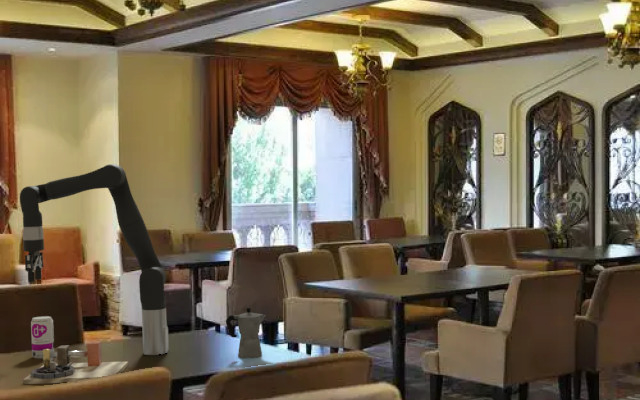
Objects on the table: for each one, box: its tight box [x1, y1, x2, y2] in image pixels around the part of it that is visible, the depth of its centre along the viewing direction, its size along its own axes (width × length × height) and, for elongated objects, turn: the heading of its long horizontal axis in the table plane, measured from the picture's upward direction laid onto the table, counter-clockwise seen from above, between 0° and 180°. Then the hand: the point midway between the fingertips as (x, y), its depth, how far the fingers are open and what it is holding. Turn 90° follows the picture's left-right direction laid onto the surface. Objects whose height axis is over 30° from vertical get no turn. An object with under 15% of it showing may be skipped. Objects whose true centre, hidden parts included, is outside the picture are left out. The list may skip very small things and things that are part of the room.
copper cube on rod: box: [50, 340, 103, 366], centre depth 316 cm, size 18×4×8 cm, turn 90°
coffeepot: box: [225, 307, 267, 359], centre depth 331 cm, size 15×9×18 cm, turn 110°
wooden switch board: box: [22, 344, 129, 385], centre depth 308 cm, size 30×24×8 cm
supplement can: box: [30, 315, 55, 359], centre depth 341 cm, size 8×8×15 cm
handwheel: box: [30, 349, 75, 379], centre depth 303 cm, size 14×14×8 cm
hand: (35, 280), depth 340 cm, fingers open, 8 cm apart
